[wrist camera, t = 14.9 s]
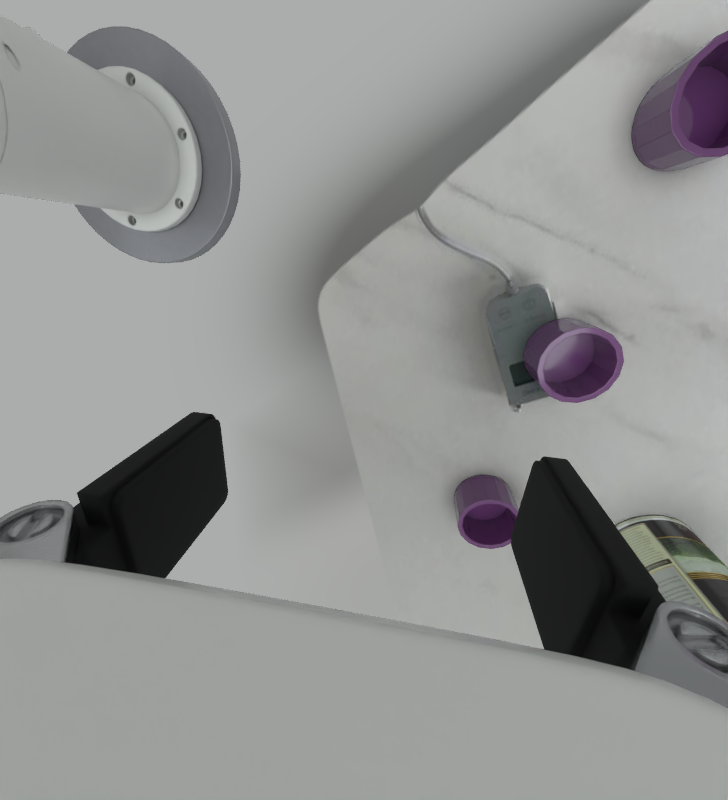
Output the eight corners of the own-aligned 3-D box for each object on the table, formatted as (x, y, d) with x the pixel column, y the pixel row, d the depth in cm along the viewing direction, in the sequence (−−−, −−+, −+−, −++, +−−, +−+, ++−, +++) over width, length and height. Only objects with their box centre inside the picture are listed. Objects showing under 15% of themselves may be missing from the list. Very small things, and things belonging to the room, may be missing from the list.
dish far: (442, 494, 42) (445, 520, 37) (488, 464, 39) (496, 489, 35) (477, 528, 43) (483, 557, 39) (523, 502, 40) (535, 530, 36)
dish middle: (509, 350, 34) (521, 363, 30) (571, 303, 31) (594, 310, 27) (548, 397, 35) (566, 416, 31) (611, 355, 33) (639, 369, 29)
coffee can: (691, 505, 37) (834, 636, 25) (700, 572, 41) (831, 720, 28) (588, 525, 40) (668, 652, 27) (604, 586, 43) (682, 726, 31)
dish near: (613, 121, 26) (650, 96, 22) (707, 35, 24) (767, -10, 20) (659, 191, 27) (702, 181, 23) (753, 116, 25) (818, 89, 21)
